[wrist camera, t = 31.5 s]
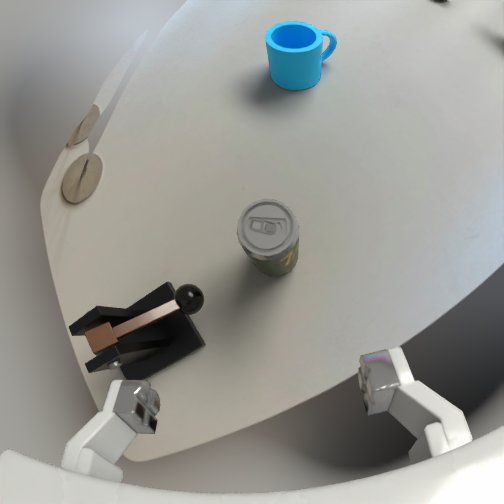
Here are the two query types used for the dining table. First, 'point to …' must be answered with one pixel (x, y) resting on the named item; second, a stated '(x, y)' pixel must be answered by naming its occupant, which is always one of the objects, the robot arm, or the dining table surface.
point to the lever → (145, 318)
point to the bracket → (142, 337)
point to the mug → (297, 54)
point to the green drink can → (269, 236)
